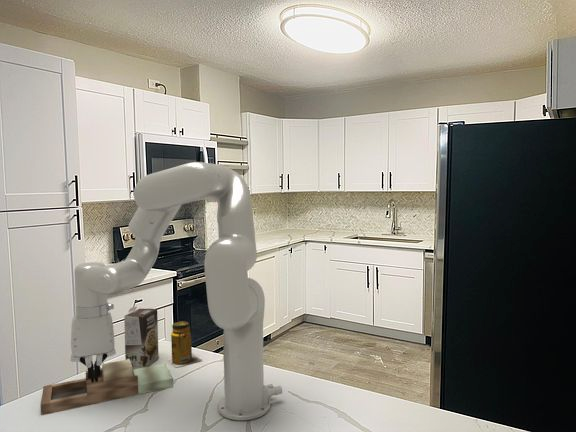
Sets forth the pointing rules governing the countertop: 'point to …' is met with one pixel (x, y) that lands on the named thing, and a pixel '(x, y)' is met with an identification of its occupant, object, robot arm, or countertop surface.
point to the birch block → (116, 370)
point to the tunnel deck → (103, 389)
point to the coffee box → (141, 337)
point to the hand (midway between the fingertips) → (94, 379)
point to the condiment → (182, 345)
